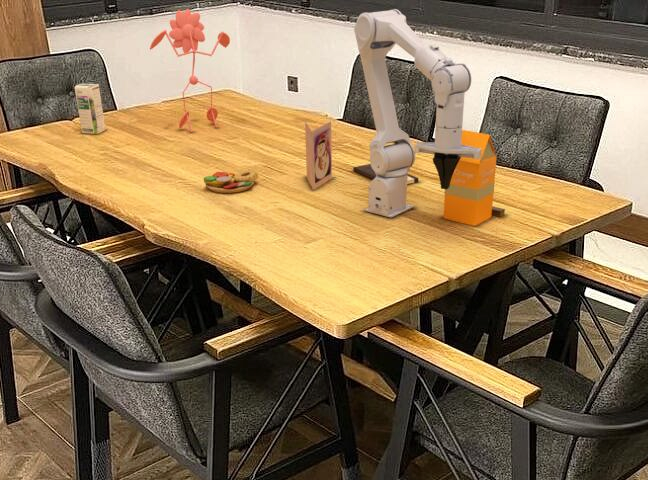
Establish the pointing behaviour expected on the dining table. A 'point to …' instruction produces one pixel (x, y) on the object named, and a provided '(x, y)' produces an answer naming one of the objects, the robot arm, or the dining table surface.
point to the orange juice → (472, 183)
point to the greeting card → (318, 155)
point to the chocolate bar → (370, 173)
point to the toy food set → (231, 181)
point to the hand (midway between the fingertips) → (445, 187)
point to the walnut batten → (497, 211)
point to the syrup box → (90, 108)
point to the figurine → (187, 37)
